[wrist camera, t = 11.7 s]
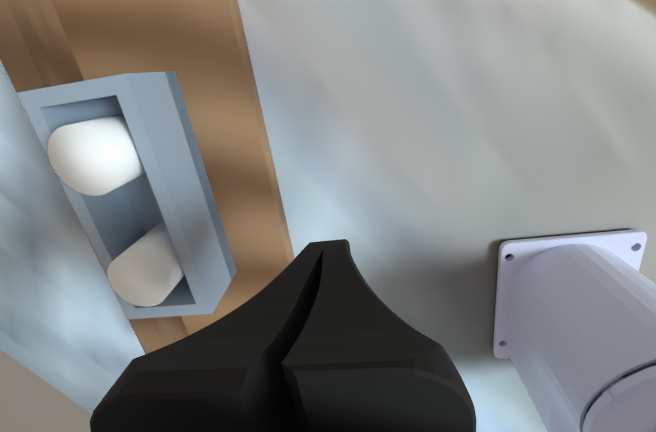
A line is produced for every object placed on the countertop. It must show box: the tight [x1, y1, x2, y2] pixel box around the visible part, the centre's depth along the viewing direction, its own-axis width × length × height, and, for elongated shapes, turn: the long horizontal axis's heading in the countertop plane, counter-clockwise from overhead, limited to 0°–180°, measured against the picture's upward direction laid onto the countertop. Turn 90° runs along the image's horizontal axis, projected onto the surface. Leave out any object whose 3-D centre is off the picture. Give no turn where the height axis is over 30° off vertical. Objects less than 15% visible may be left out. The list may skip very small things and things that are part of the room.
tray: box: [17, 71, 237, 319], centre depth 17 cm, size 12×5×5 cm, turn 9°
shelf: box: [0, 0, 294, 354], centre depth 19 cm, size 22×10×4 cm, turn 9°
